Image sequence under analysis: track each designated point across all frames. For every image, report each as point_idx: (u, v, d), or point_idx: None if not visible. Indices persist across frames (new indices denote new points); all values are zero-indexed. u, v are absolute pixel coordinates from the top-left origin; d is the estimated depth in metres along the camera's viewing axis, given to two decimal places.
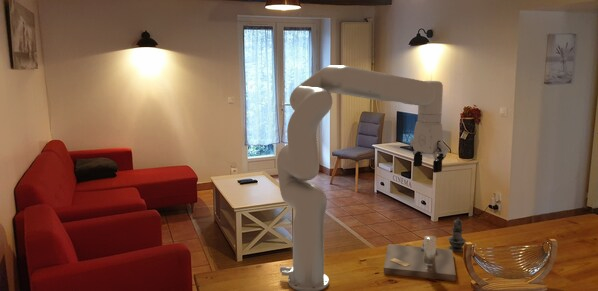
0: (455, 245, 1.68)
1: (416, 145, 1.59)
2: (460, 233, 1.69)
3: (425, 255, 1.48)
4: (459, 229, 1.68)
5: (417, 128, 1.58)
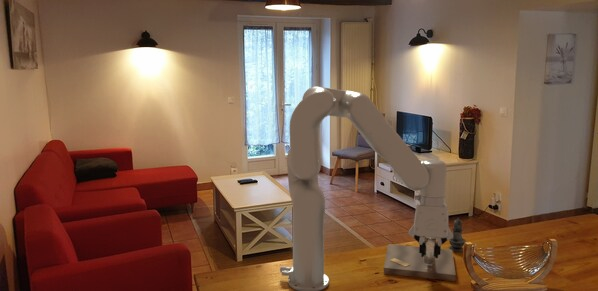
0: (455, 245, 1.68)
1: (422, 230, 1.46)
2: (460, 233, 1.69)
3: (425, 255, 1.48)
4: (459, 229, 1.68)
5: (422, 212, 1.45)
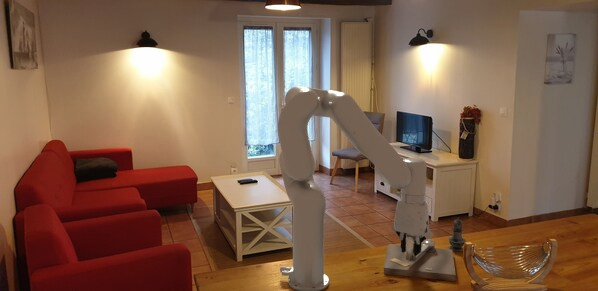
0: (455, 245, 1.68)
1: (400, 226, 1.50)
2: (460, 233, 1.69)
3: (405, 251, 1.52)
4: (459, 229, 1.68)
5: (400, 208, 1.49)
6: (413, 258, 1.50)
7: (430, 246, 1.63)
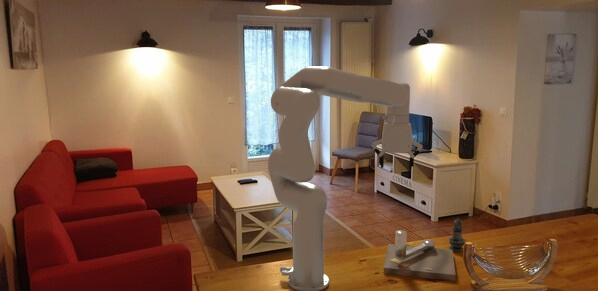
0: (455, 245, 1.68)
1: (388, 147, 1.62)
2: (460, 233, 1.69)
3: (395, 248, 1.54)
4: (459, 229, 1.68)
5: (389, 130, 1.61)
6: (401, 255, 1.53)
7: (429, 246, 1.63)
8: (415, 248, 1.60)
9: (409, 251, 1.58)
